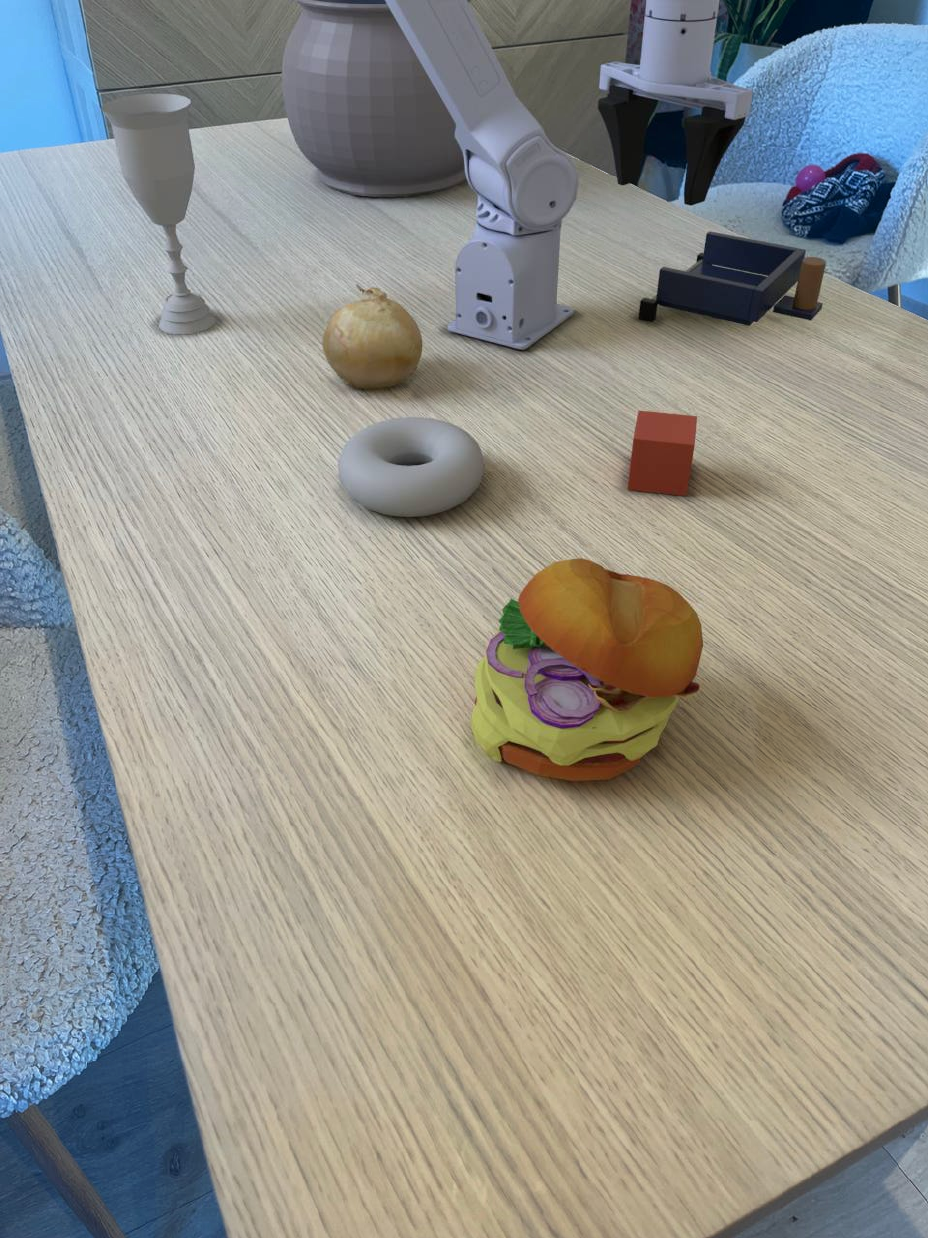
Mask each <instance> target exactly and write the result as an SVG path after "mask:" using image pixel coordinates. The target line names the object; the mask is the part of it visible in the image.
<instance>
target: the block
mask: <svg viewBox="0 0 928 1238" xmlns="http://www.w3.org/2000/svg"><path fill="white" fill-rule="evenodd" d="M697 420H698V416H697V415H690V414H680V413H679V414H677V413H668V412H659V411H658V412H657V411H648V410H638V411H637V418H636V422H635V427H634V428H635V429H634V432H633V433H634V434H633V439H632V447H631V454H630V455H631V456H630V463H629V464H630V465H629V466H630V467H629V471H628V472H629V473H628V482H627V490H628V491H635V492H643V493H644V492H645V493H646V492H647V493H654V494H663V495H670V496H671V495H672V496H681V497H687V496H688V489H689V483H690V477H691V471H692V465H693V458H694V453H695V446H696V433H697V425H698V423H697V422H698V421H697Z"/></svg>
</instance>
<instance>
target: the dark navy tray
mask: <svg viewBox="0 0 928 1238" xmlns="http://www.w3.org/2000/svg"><path fill="white" fill-rule="evenodd" d="M702 253H703V259H700V260H699V261H698V262H696V261H695V263H694V264H692V265H691V266H690V267H688V269H686V270H682V269H680V270H679V269H677V268H671V267H666V266H662V267H661V268H660V269H659V272H658V273H659V274H658V281H657V290H656V294H655V295H654V296H652V297H651V299H653V300H658V306H659V307H664V308H667V309H668V308H669V309H672V310H676V311H681V312H686V313H690V314H694V315H699V316H704V317H707V318H711V319H716V320H721V321H725V322H729V323H733V324H738V325H743V326H747V327H750V326H751V325H752V324H754V323H758V322H759V321H760V320H761V319H762V318H763V317H764V316H765V315H766V314H767V313H768V312H769V311H770V310H771V309H772V308H773V309H772V313H774V314H779V315H784V316H787V317H793V318H797V319H801V320H805V321H806V320H807V321H813V319H814V318H815V317H816V316H817V315H818V314H819V312H820V311H821V310H822V308H823V304H824V303H823V302H819V301H818V300H819V297H820V292H821V289H822V283H823V279H824V275H825V270H826V266H827V261H826V260H825V259H823V258H821V257H817V256H806V253H807V249H805V248H799V247H794V246H789V245H784V244H778V243H774V242H769V241H763V240H758V239H753V238H747V237H742V236H736V235H731V234H726V233H721V232H715V231H711V230H710V231H708V232H706V235H705V240H704V246H703V252H702ZM805 256H806V257H805ZM706 263H707V264H706ZM709 264H712V265H709ZM795 285H796V288H795V293H794V296H791V295H786V294H787V293H788V292H789V291H790V290H791V289H792V288H794V286H795Z"/></svg>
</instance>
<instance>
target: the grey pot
mask: <svg viewBox="0 0 928 1238" xmlns="http://www.w3.org/2000/svg"><path fill="white" fill-rule="evenodd" d="M293 1H294V2H296V3H297V4H299V5H300V6H301V13H300V15H299V17H298V20H297V21H296V23H295V25H294V26H293V28H292V30H291V32H290V34H289V36H288V39H287V41H286V43H285V46H284V51H283V56H282V64H281V65H282V67H281V89H282V98H283V103H284V110H285V114H286V118H287V122H288V125H289V129H290V132H291V134H292V136H293V139H294V142H295V144H296V145H297V147H298V149H299V151H300V152H301V154H302V155H303V156H304V157H305V158H306V160H308V162H309V163H311V164H312V166H314V167H315V168H317V172H316V175H317V178H318V179H319V180H320V181H321V182H322V183H323V184H325V186H328V187H329V188H331V189H334V190H336V191H339V192H341V193H346V194H350V195H353V196H363V197H374V198H395V197H409V196H417V195H425V194H430V193H436V192H440V191H443V190H447V189H450V188H453V187H455V186H458V185H460V184H462V183H463V182H465V181H466V180H467V178H466V174H465V165H464V156H463V152H462V150H461V148H460V145H459V144H458V142H457V140H456V138H455V129H456V123H455V122H454V120H453V118H452V116H451V115H450V113H449V111H448V109H447V108H446V106H445V104H444V102H443V101H442V99H441V97H440V95H439V94H438V92H437V90H436V88H435V87H434V85H433V83H432V81H431V80H430V78H429V76H428V75H427V73H426V71H425V69H424V68H423V66H422V64H421V62H420V61H419V59H418V57H417V55H416V54H415V52H414V50H413V48H412V47H411V45H410V43H409V41H408V40H407V38H406V36H405V34H404V33H403V31H402V29H401V27H400V26H399V24H398V22H397V21H396V19H395V17H394V15H393V14H392V12H391V10H390V8H389V7H388V5H387V3H386V1H385V0H293ZM467 1H468V3H469V4H470V2H471V1H472V0H467Z"/></svg>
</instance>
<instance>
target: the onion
mask: <svg viewBox="0 0 928 1238" xmlns="http://www.w3.org/2000/svg"><path fill="white" fill-rule="evenodd" d="M355 287H356V288H357V289H358V291H359V292H362V293H361V294H362V298H361V299H359V300H357V301H353V302H351V303H348V304H346V305H344V306H342V307H341V308H339V309H338V310H337V311H335V312H334V314H333V315H332V316H331V317H330V318H329V321H328V322H327V325H326V326H325V329H324V332H323V334H322V335H323V336H322V344H321V347H322V351H323V353H324V356H325V359H326V362H327V363H328V365H329V366H330V368H331V369H332V371H334V373H336V375H337V377H339V379H340V380H342V382H343V383H344V384H345V385H346V386H347V387H349V388H350V389H354V388H357V389H359V390H366V391H367V390H377V389H386V388H390V387H394V386H398V385H400V384H402V383H404V382H406V381H407V379H408V377H409V376H411V375H412V373H413V372H415V371H416V369H418V366H419V363H420V361H421V358H422V356H423V355H422V354H423V344H424V343H423V338H422V332H421V330H420V327H419V325H418V324H417V322H416V320H415V319H414V317H413V316H412V315H411V314H410V313H409V312H408V311H407V310H406V309H405V308H404V307H403V306H402V304H400V303H399V302H397V301H395V300H392V299H390V298H388V295H387V293H386V292H385V291H382V290H381V288H379V287H373V286H372V287H370V288H368V289H364V288H363V287H362V286H360V285H359V284H358V283H356V284H355Z"/></svg>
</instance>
